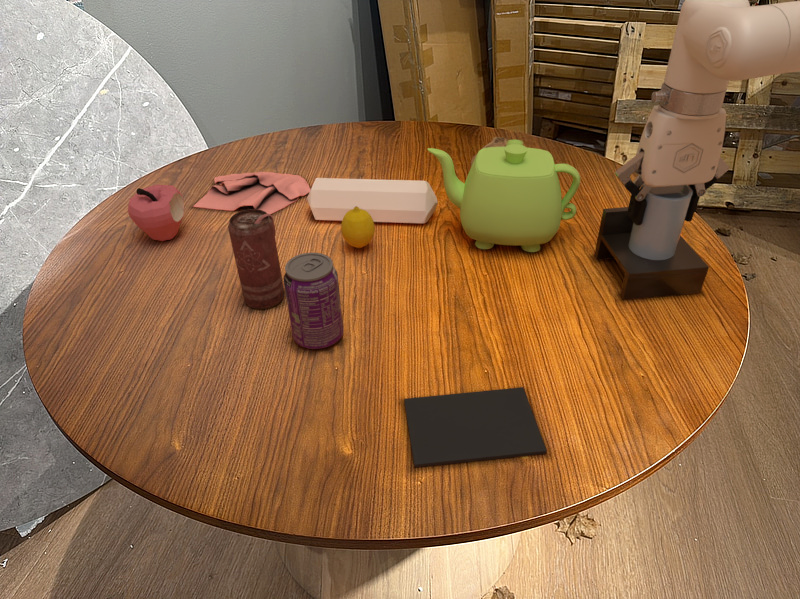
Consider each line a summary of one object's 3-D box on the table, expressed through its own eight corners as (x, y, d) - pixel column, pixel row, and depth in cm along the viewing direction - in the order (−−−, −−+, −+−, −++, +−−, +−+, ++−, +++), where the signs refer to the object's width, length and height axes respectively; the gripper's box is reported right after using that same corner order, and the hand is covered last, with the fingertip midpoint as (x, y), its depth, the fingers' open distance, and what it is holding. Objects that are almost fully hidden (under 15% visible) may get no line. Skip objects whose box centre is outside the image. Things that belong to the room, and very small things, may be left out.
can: (293, 300, 93) (280, 219, 85) (254, 315, 91) (236, 234, 82) (276, 281, 97) (262, 202, 89) (238, 295, 95) (220, 215, 86)
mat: (522, 390, 77) (523, 386, 77) (546, 454, 69) (547, 450, 69) (404, 401, 76) (404, 398, 76) (414, 468, 68) (414, 464, 68)
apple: (173, 253, 105) (158, 200, 99) (128, 247, 106) (110, 196, 100) (200, 224, 112) (187, 174, 106) (157, 220, 114) (142, 170, 108)
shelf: (664, 250, 102) (677, 202, 96) (700, 293, 92) (717, 243, 87) (593, 256, 101) (603, 208, 96) (622, 300, 91) (635, 250, 86)
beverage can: (316, 314, 91) (307, 244, 83) (354, 331, 87) (347, 260, 80) (282, 340, 86) (269, 269, 79) (321, 360, 83) (311, 288, 75)
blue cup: (663, 234, 97) (679, 176, 91) (683, 258, 91) (702, 197, 85) (621, 238, 96) (634, 179, 90) (639, 262, 91) (654, 201, 85)
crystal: (439, 183, 114) (312, 179, 117) (437, 180, 107) (302, 177, 110) (437, 223, 115) (312, 219, 118) (436, 223, 108) (302, 219, 111)
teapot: (566, 199, 116) (579, 117, 107) (575, 263, 99) (591, 172, 90) (435, 193, 120) (435, 113, 110) (421, 253, 103) (421, 165, 93)
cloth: (327, 192, 121) (325, 181, 119) (228, 233, 109) (225, 221, 108) (270, 160, 133) (268, 150, 132) (176, 194, 122) (173, 183, 120)
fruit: (344, 258, 102) (340, 216, 97) (341, 241, 106) (337, 199, 102) (377, 255, 103) (375, 213, 98) (373, 238, 107) (371, 196, 102)
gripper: (638, 113, 76) (611, 236, 87) (772, 104, 77) (729, 227, 88) (615, 92, 82) (592, 210, 93) (739, 85, 83) (703, 202, 94)
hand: (659, 217), depth 91 cm, fingers closed on blue cup, 6 cm apart
